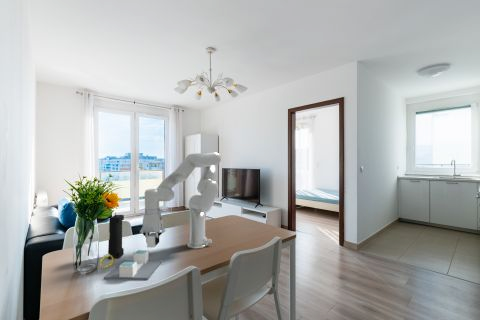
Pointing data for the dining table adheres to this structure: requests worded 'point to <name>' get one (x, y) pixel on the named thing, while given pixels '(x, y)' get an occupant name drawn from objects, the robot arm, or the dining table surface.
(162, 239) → the dining table surface
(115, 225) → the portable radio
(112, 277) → the board
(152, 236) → the module block
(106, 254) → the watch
